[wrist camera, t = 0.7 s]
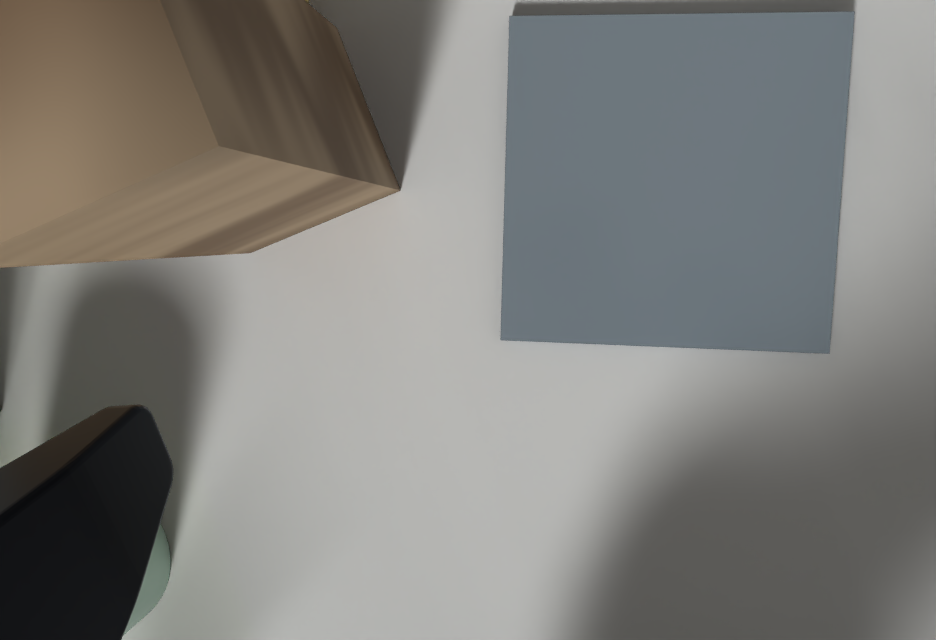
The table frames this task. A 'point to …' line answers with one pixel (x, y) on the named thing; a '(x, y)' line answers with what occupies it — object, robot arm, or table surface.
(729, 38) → the coaster
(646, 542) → the table surface
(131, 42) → the walnut block
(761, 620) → the table surface
